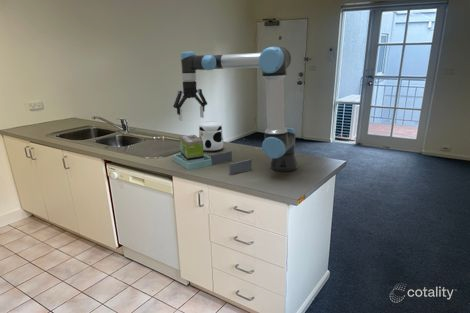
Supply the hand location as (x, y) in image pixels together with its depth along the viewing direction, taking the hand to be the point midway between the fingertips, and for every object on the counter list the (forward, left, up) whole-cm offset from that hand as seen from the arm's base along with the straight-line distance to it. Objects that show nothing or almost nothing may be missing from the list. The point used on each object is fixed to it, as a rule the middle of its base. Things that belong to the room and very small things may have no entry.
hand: (191, 118), depth 185 cm
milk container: (+18, -23, -27) cm, 40 cm away
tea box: (0, +1, -26) cm, 26 cm away
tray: (0, 0, -27) cm, 27 cm away
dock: (-20, -14, -27) cm, 36 cm away
